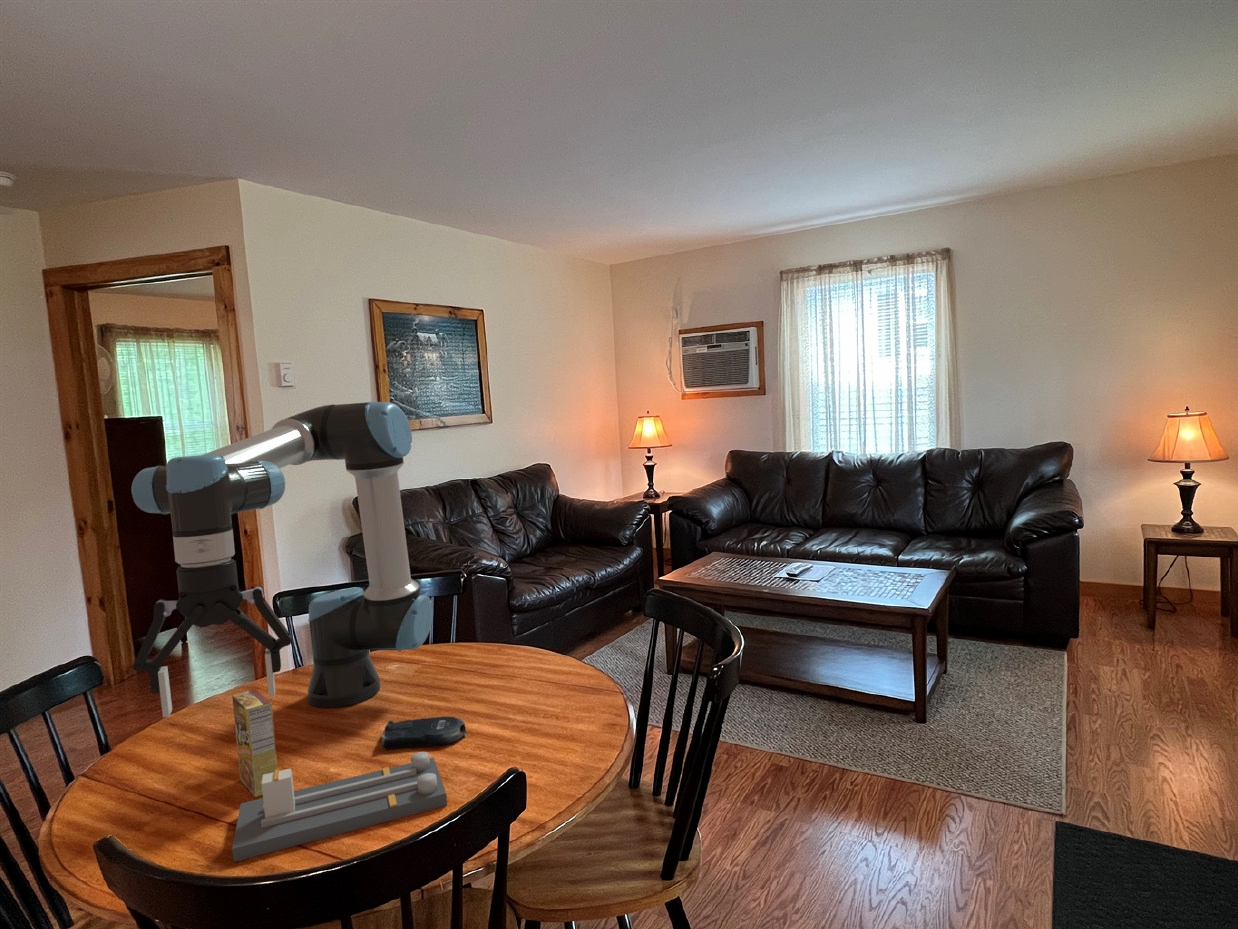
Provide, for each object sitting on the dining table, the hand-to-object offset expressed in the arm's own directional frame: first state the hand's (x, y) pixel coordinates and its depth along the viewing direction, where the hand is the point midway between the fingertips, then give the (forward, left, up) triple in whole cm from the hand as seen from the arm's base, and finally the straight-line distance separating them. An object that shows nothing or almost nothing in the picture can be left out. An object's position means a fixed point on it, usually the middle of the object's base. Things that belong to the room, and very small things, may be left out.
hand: (221, 703), depth 106 cm
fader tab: (0, +6, -19) cm, 20 cm away
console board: (0, +15, -21) cm, 26 cm away
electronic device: (-20, +31, -22) cm, 42 cm away
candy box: (-16, +2, -21) cm, 27 cm away
